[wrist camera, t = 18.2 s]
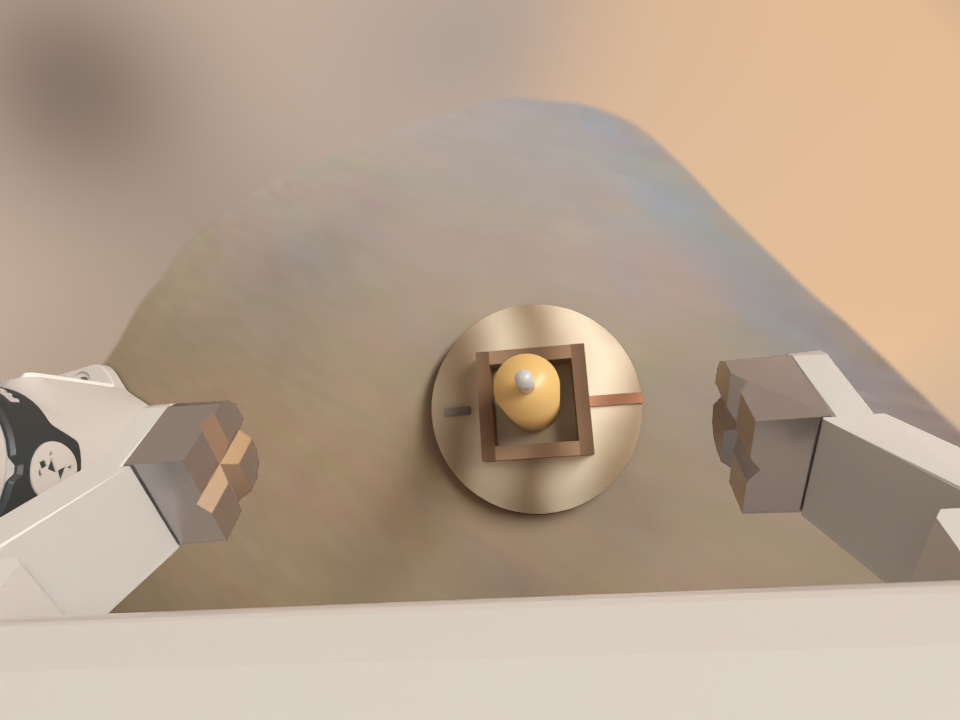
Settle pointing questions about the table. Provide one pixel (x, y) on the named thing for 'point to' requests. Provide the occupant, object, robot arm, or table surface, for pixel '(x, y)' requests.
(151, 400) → the table surface
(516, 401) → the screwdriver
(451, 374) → the dial plate
